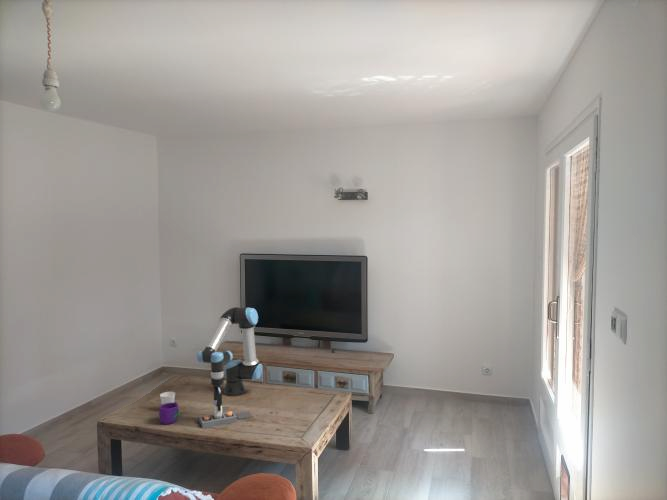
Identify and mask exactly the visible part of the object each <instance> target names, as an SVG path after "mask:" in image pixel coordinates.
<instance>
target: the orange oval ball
mask: <svg viewBox="0 0 667 500" xmlns="http://www.w3.org/2000/svg"><path fill="white" fill-rule="evenodd" d="M232 411H233V410H229V411H225V412H226V417H232Z"/></svg>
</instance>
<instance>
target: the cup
mask: <svg viewBox="0 0 667 500" xmlns="http://www.w3.org/2000/svg"><path fill="white" fill-rule="evenodd" d="M159 396H160V402H161V405H162V404H166V403H174V402H175V399H176V398H175V397H176V392H174V391H165V392H161V393H160V394H159Z"/></svg>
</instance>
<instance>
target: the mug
mask: <svg viewBox="0 0 667 500" xmlns="http://www.w3.org/2000/svg"><path fill="white" fill-rule="evenodd" d="M158 414H159V415H158V416H159V421H160V423H162V424H163V425H171V424H174V423H176V422H178V418H179V404H178V402H175V401H174V403H166V404H162V403H161V405H159V407H158Z"/></svg>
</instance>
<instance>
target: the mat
mask: <svg viewBox="0 0 667 500" xmlns="http://www.w3.org/2000/svg"><path fill="white" fill-rule="evenodd" d="M234 414H235V415H236V416H237V420H243V419H244V420H245V419H249V418H253V417H254V416H253V415H252V414H251V412H250V411H245V412H244V411H243V412H240V413H234Z"/></svg>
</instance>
